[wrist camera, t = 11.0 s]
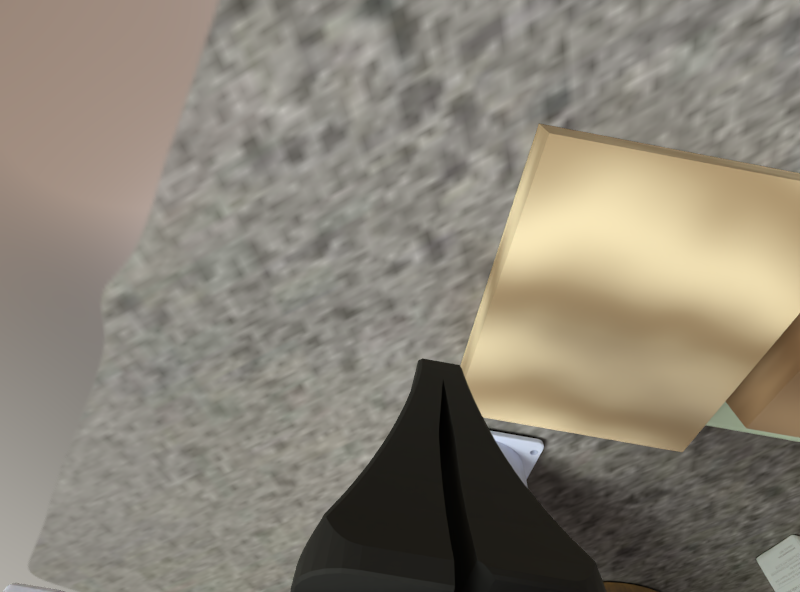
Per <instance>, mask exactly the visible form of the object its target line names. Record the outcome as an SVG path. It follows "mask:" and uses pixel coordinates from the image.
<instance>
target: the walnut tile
mask: <svg viewBox="0 0 800 592" xmlns="http://www.w3.org/2000/svg"><path fill="white" fill-rule="evenodd" d="M725 402H726V403H727V404H728V405H729V407H730V408H731V409H732V411H733V412H734V413H735V415H736V416H737V417H738V418H739V420H740V421H741V422H742V424H743V425H744V426H745V427H746V428H747V429H753V430H759V431H764V432H770V433H776V434H781V435H787V436H793V437H799V438H800V313H799V315H798V316H797V317H796V318H795V319H794V321H793V322H792V323H791V324H790V325H789V327H788V328H787V329H786V330H785V331H784V332H783V334H782V335H781V336H780V337H779V338H778V340H777V341H776V342H775V343H774V344H773V345H772V347H771V348H770V349H769V350H768V351H767V353H766V354H765V355H764V356H763V357H762V359H761V360H760V361H759V362H758V363H757V364H756V366H755V367H754V368H753V369H752V370H751V372H750V373H749V374H748V375H747V376H746V378H745V379H744V380H743V381H742V382H741V383H740V385H739V386H738V387H737V388H736V389H735V391H734V392H733V393H732V394H731V395H730V397H729V398H728V399H727V400H726V401H725Z"/></svg>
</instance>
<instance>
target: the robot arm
mask: <svg viewBox="0 0 800 592" xmlns="http://www.w3.org/2000/svg"><path fill="white" fill-rule="evenodd" d="M543 449H544V445H543V442H542V441H541V440H540V439H536V438H530V437H524V436H518V435H513V434H507V433H501V432H496V431H490V430H489V428H488V426H487V425H486V423H485V421H484V419H483V417H482V415H481V413H480V411H479V409H478V407H477V404H476V402H475V400H474V398H473V396H472V393H471V391H470V389H469V386H468V384H467V381H466V379H465V376H464V373H463V371H462V368H461V367H460V365H455V364H450V363H444V362H439V361H433V360H427V359H421V360H419V361H418V364H417V368H416V372H415V376H414V380H413V384H412V388H411V392H410V394H409V397H408V399H407V401H406V404H405V406H404V408H403V410H402V411H401V413H400V415H399V417H398V419H397V421H396V423H395V425H394V426H393V428H392V430H391V431H390V433H389V435H388V436H387V438H386V439H385V441H384V442H383V444H382V446H381V447H380V448H379V450H378V451H377V453H376V454H375V456H374V457H373V458H372V460H371V461H370V463H369V464H368V465H367V467H366V468H365V469H364V470H363V472H362V473H361V474H360V475H359V476H358V478H357V479H356V480H355V481H354V482H353V484H352V485H351V486H350V487H349V488H348V490H347V491H346V492H345V493H344V494H343V495H342V496H341V497H340V498H339V499H338V500H337V501H336V502H335V504H334V505H333V506H332V507H331V508H330V509H329V510H328V511H327V512H326V513H325V514H324V516H323V517H322V519H321V521H320V522H319V524H318V526H317V527H316V529H315V530H314V532H313V534H312V535H311V537H310V539H309V540H308V542H307V544H306V546H305V548H304V550H303V552H302V554H301V556H300V558H299V561H298V564H297V567H296V571H295V574H294V578H293V582H292V586H291V592H606V589H605V586H604V583H603V580H602V578H601V575H600V573H599V571H598V568H597V566H596V563H595V561H594V560H593V559H592V558H591V557H590V556H589V555H588V554H587V553H586V552H585V551H583V550H582V549H581V548H580V547H579V546H578V545H577V544H576V543H575V542H574V541H573V540H572V539H571V538H570V537H569V536H568V535H567V534H566V533H565V532H564V531H563V530H562V528H561V527H560V526H559V525H558V524H557V523H556V522H555V521H554V520H553V518H552V517H551V516H550V515H549V514H548V513H547V512H546V511H545V509H544V508H543V507H542V506H541V504H540V503H539V502H538V501H537V500H536V498H535V497H534V496H533V495H532V493H531V492H530V491H529V490H528V486H527V481H526V480H527V478H528V476H529V474H530V472H531V471H532V469H533V467H534V465H535V463H536V462H537V460H538V458H539V456H540V454H541V452H542V451H543ZM3 592H64V591H61V590H56V589H50V588H43V587H38V586H31V585H25V584H19V583H12V584H10V585H8V586H7V587H6V588H5V590H4V591H3Z"/></svg>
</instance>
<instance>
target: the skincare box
mask: <svg viewBox="0 0 800 592" xmlns="http://www.w3.org/2000/svg"><path fill="white" fill-rule="evenodd" d="M756 560H757V562H758V564H759V566H760V567H761V569H762V571H763V573H764V574H765V576H766V577H767V579H768V581H769V583H770V584H771V586H772V587H773V589H774V591H775V592H800V536H797V535H790V536H789V537H787V538H786V539H785V540H783V541H782V542H780V543H779V544H777V545H776V546H774V547H772V548H771V549H769V550H768V551H766V552H764V553H763V554H761V555H760V556H758V557H757V558H756Z"/></svg>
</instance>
